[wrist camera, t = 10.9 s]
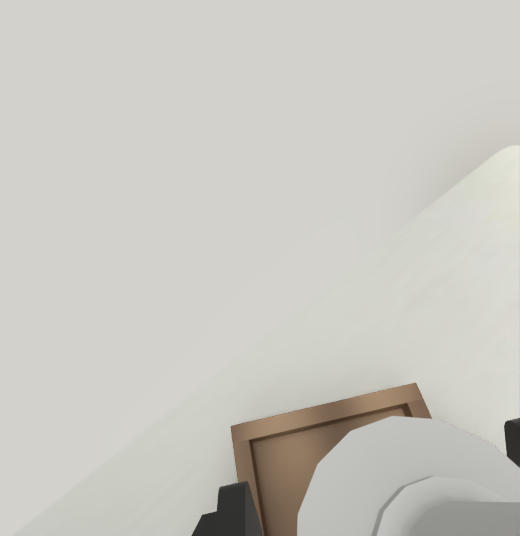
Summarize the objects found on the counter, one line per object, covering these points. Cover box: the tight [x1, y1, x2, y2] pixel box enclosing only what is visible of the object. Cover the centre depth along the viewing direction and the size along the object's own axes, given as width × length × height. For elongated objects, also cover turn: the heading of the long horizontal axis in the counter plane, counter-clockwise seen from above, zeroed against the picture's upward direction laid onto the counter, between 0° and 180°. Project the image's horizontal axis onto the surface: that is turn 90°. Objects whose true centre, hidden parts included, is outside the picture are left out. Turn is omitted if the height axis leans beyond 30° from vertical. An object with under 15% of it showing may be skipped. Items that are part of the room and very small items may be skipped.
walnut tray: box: [231, 383, 432, 536], centre depth 20 cm, size 12×12×2 cm
